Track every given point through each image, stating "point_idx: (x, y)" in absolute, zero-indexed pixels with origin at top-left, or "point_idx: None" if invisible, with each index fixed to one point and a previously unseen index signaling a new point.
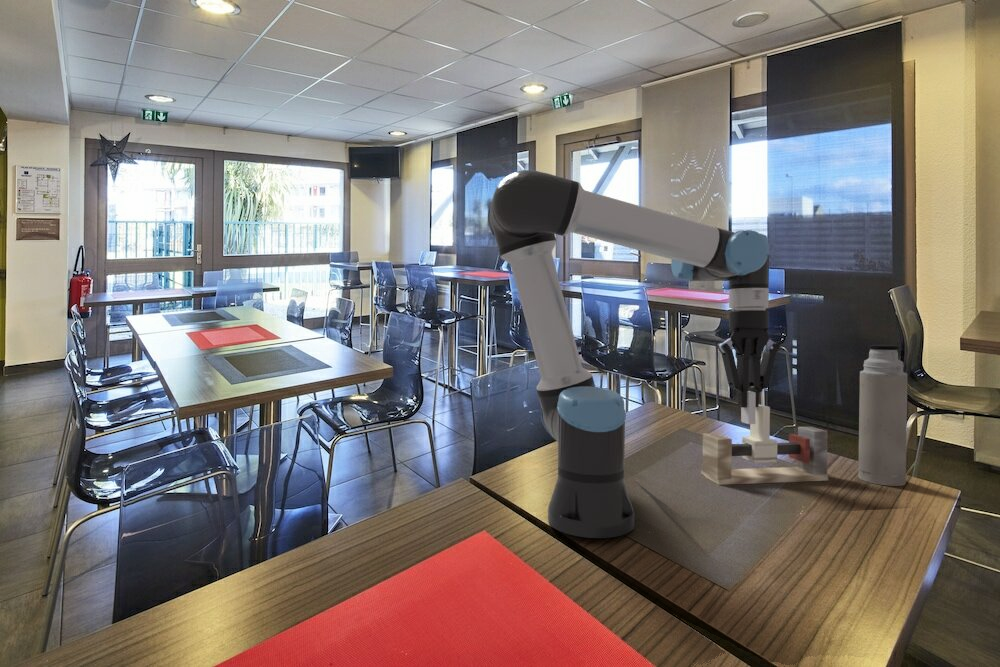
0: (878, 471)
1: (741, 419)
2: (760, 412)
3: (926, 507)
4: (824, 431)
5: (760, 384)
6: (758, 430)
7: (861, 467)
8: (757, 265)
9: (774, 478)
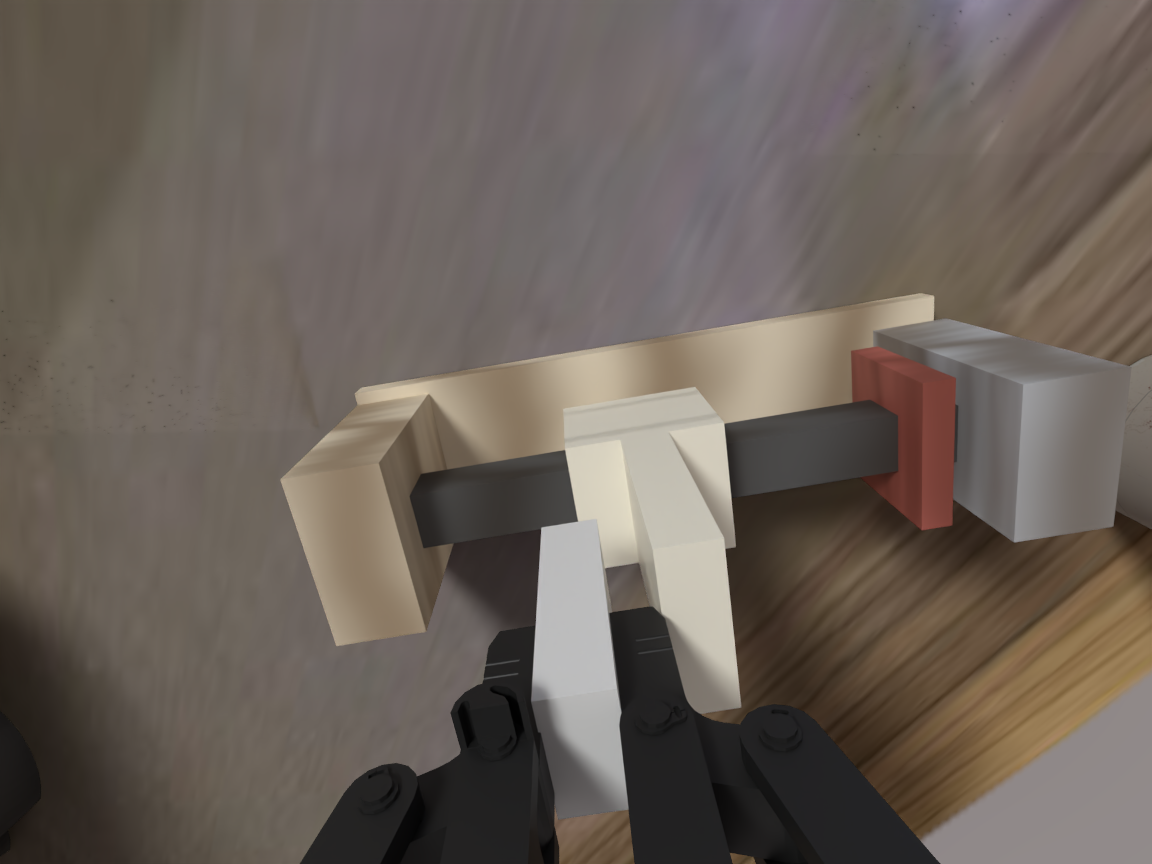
0: (1138, 517)
1: (541, 540)
2: None
3: (1018, 721)
4: (1089, 528)
5: (738, 850)
6: (640, 553)
7: (1125, 448)
8: None
9: None
